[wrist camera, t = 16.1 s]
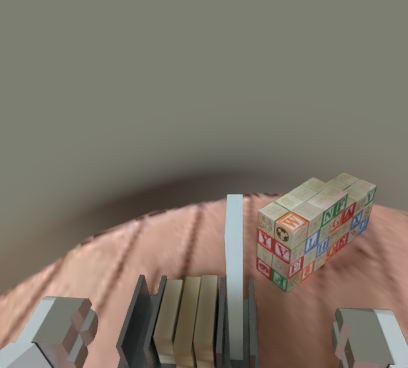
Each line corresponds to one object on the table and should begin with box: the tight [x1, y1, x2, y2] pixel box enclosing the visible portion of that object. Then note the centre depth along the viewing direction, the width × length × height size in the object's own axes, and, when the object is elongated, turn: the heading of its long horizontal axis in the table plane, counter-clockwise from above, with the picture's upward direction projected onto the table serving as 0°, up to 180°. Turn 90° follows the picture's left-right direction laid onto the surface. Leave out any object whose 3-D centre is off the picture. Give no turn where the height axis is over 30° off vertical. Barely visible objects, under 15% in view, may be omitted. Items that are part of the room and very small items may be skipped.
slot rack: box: [116, 275, 259, 368], centre depth 40 cm, size 17×11×6 cm, turn 84°
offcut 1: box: [153, 279, 184, 364], centre depth 40 cm, size 2×8×6 cm, turn 174°
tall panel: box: [225, 195, 243, 360], centre depth 35 cm, size 2×6×20 cm, turn 174°
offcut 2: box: [173, 276, 201, 368], centre depth 40 cm, size 2×10×5 cm, turn 174°
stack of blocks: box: [257, 172, 377, 293], centre depth 50 cm, size 21×6×12 cm, turn 127°
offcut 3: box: [193, 275, 219, 368], centre depth 39 cm, size 2×9×6 cm, turn 174°
